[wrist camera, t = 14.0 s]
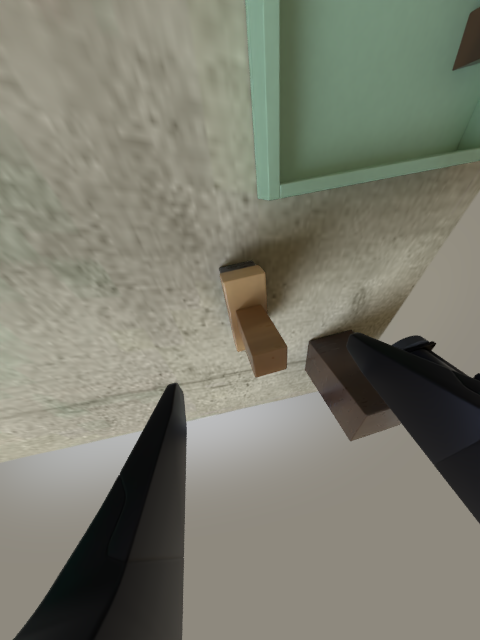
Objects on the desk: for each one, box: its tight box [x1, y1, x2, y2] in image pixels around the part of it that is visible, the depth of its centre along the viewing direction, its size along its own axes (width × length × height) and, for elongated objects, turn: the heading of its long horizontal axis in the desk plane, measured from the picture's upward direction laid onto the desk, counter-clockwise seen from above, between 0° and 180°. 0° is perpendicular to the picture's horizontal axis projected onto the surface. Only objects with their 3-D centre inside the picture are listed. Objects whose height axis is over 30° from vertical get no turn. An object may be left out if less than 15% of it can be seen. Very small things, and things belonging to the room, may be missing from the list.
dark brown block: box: [305, 330, 401, 441], centre depth 18 cm, size 5×5×8 cm
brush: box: [219, 261, 287, 377], centre depth 12 cm, size 6×3×7 cm, turn 7°
